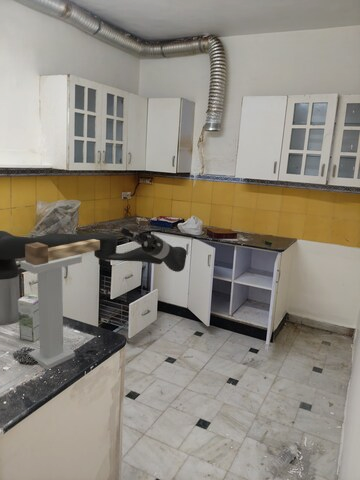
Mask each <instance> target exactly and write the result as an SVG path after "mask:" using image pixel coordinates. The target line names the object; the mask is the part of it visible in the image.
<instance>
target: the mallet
mask: <svg viewBox="0 0 360 480" xmlns="http://www.w3.org/2000/svg"><path fill="white" fill-rule="evenodd" d="M96 250H100V241H99V240H96V239H91V240H86V241H81V242H76V243H71V244H66V245H61V246H56V247H51V248H48V246H47V245H44V244H41V243H38V242H37V243H31V244H25V256H26V258H25V260H26V262H28V263H31V264H33V265H40V264H44V263H48V261H52V260H56V259H61V258H65V257H70V256H74V255H82V254H86V253H91V252H94V251H96Z"/></svg>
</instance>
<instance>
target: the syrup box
mask: <svg viewBox="0 0 360 480" xmlns="http://www.w3.org/2000/svg"><path fill="white" fill-rule="evenodd" d="M18 311H19V320H18V325H19V326H18V327H19V328H18V329H19V339H20V340H23V341H28V342H32V343H33V342H36V341H37V340H40V339H39V310H38V295H34V294H26V295H24V296H22V297H20V299H19V300H18Z"/></svg>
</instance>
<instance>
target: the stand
mask: <svg viewBox="0 0 360 480" xmlns="http://www.w3.org/2000/svg"><path fill="white" fill-rule="evenodd" d="M82 257H83V256H82V255H81V254H78V255H74V256H70V257H65V258H61V259H56V260H52V261H48V263H44V264H40V265H33V264H31V263H28V262H26V259H25V260H21V261H20V269H21V270H25V271H26V272H29V273H31V274H34V275H36V277H37V278H36V279H37V296H38V310H39V339H38V340H39V348H36V349H35V350H32V351H29V352H28V353H27V354H28V355H30V356H31V357H33V358H34V359H35V360H36V361H37V362H38V363H37V364H38V365H40V366H41V367H42V368H44V369H45V370H47V371H48V370H49V369H51V368H54V367H57V366H58V365H60V364H62V363H64V362H67V361H68V360H71V359H73V358H75V357H76V352H75V351H74V350H72V349H70V348H68V347H67V346H65V345H64V320H63V319H64V312H63V268H64V267H68V266H69V267H70V266H72V265H76V264H81V263H82V262H83V261H82ZM28 355H27V356H28Z"/></svg>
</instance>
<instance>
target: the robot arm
mask: <svg viewBox="0 0 360 480" xmlns="http://www.w3.org/2000/svg"><path fill="white" fill-rule="evenodd" d="M120 234H122V235H123V238H126V239H128V240H130V241H132V242H133V243H134V242H135V243H136V244H138V245H140V247H137V248H134V249H132V250H129V251H127V252H126V251H125V252H117V247H118V236H117V235H116V234H114V233H107V232H103V233H85V234H81V233H55V232H54V233H48V234H47V233H46V234H44V235H40V236H34V237H32V236H31V237H29V236H28V237H27V236H19V235H14V234H11V233H10V232H8V231H5V230H0V325H10V324H14V323H16V322H19V311H18V300H19V299H20V298H21V294H20V272H19V267H18V265H17V261H16V260H18V259H26V256H25V244H31V243H37V242H38V243H41V244H44V245H47V246H48V248H51V247H56V246H61V245H66V244H71V243H76V242H81V241H86V240H91V239H96V240H99V241H100V250H96V251H93V252H94V257H95V258H97V259H99V260H104V261H105V260H106V261H119V262H120V261H121V262H142V263H149V264H155V265H162V263H164V264H165V265H166V267H167V268H168V269H169V270H170V271H173V272H175V273H180V272H182V271H183V270H184V269H185V266H186V262H187V261H186V259H187V255H188V254H187V253H188V252H187V250H186V249H185V248H184V247H183V246H172V245H171V244H169V243H168V242H167V241H165V240H164V239H162V238H160V237H159V236H157V235H155V234H154V233H150V234H145V233H143V232H141V231H139V232H135V231H131V230H129V229H127V228H126V227H121V230H120Z"/></svg>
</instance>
